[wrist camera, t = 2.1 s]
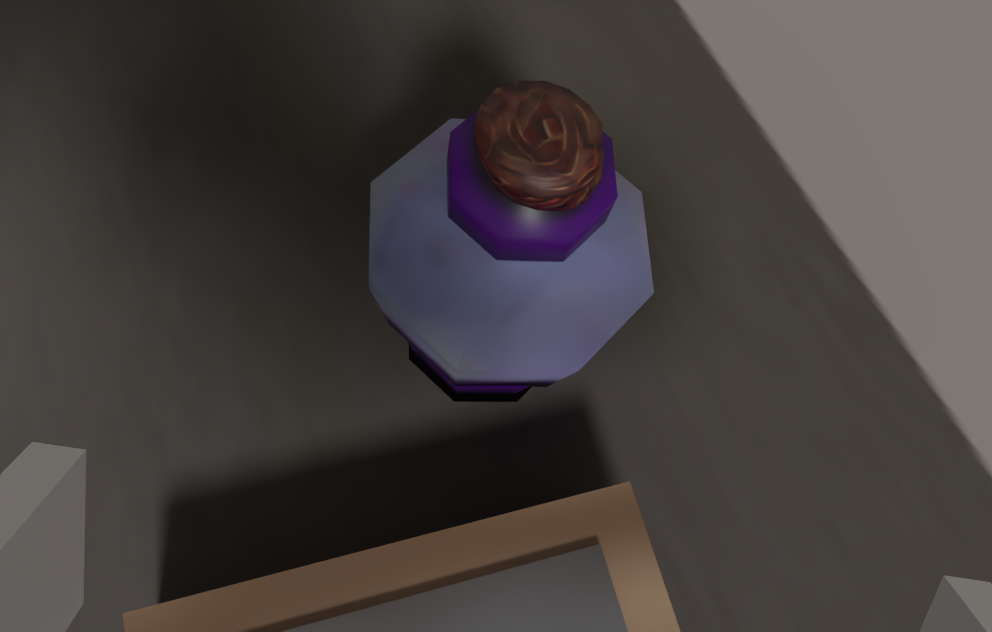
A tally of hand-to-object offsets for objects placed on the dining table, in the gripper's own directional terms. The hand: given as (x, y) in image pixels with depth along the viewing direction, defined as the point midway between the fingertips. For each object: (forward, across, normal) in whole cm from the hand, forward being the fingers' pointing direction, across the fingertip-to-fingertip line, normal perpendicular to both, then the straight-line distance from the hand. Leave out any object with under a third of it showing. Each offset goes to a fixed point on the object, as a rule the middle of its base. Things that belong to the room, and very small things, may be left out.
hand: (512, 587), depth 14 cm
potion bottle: (+18, 0, -3) cm, 18 cm away
